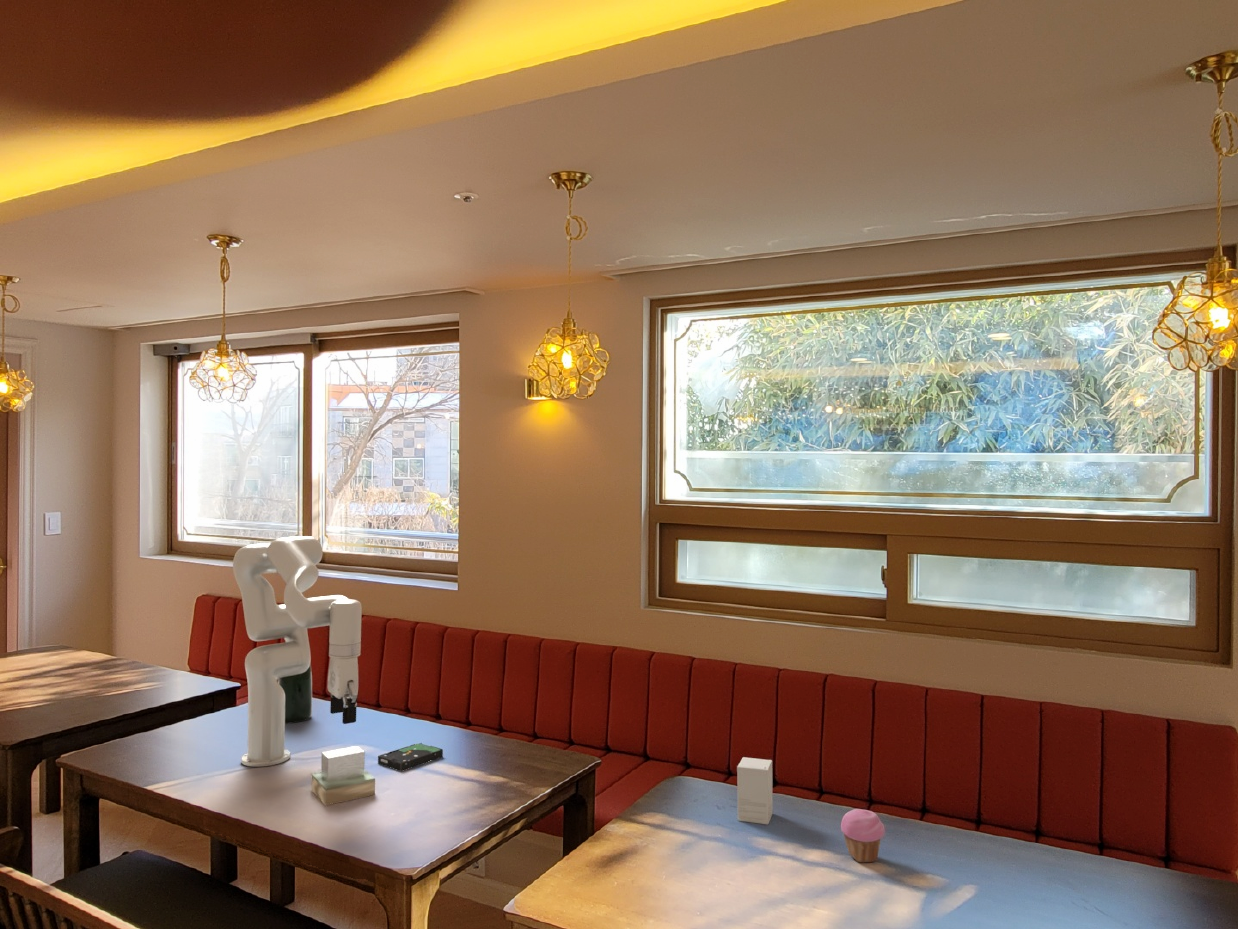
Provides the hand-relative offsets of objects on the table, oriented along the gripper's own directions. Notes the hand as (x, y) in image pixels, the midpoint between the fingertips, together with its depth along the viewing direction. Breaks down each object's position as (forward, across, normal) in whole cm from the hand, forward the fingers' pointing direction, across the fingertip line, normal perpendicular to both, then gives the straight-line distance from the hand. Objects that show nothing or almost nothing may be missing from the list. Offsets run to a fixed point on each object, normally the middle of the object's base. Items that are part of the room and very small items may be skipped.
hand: (342, 717), depth 206 cm
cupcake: (+16, +99, +77) cm, 126 cm away
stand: (+18, +1, 0) cm, 18 cm away
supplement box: (+17, +71, +74) cm, 104 cm away
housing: (+14, +1, 0) cm, 14 cm away
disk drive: (+19, -12, +23) cm, 33 cm away
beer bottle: (+20, -71, +7) cm, 74 cm away
